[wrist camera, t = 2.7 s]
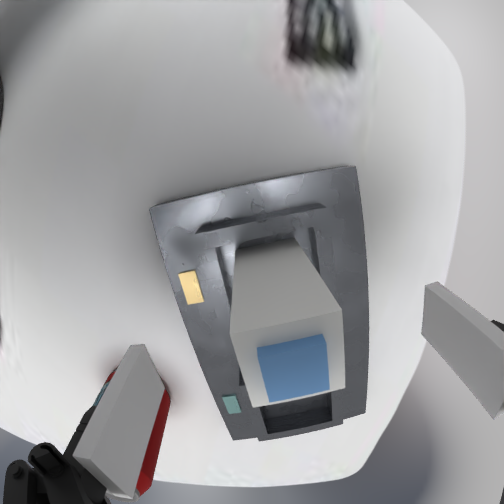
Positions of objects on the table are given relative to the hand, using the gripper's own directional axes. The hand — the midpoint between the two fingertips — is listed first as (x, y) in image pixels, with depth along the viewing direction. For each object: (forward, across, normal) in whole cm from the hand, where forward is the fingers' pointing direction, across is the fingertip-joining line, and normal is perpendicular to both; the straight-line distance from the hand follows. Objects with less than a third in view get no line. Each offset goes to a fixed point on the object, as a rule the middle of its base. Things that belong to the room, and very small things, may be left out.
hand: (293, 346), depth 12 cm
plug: (+8, 0, 0) cm, 8 cm away
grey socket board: (+10, 0, -6) cm, 11 cm away
